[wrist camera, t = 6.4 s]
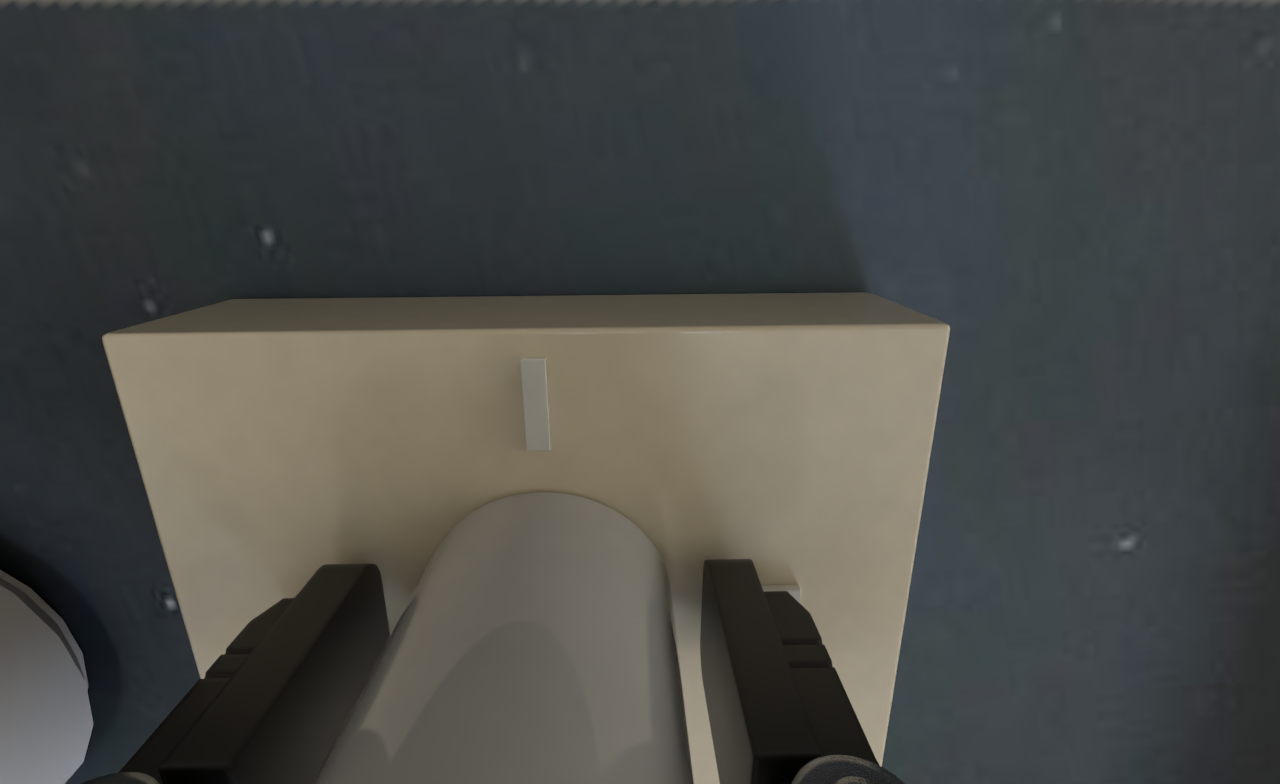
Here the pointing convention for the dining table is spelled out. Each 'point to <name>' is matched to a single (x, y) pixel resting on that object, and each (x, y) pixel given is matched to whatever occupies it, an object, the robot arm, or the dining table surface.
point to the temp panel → (545, 448)
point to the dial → (527, 659)
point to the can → (39, 691)
